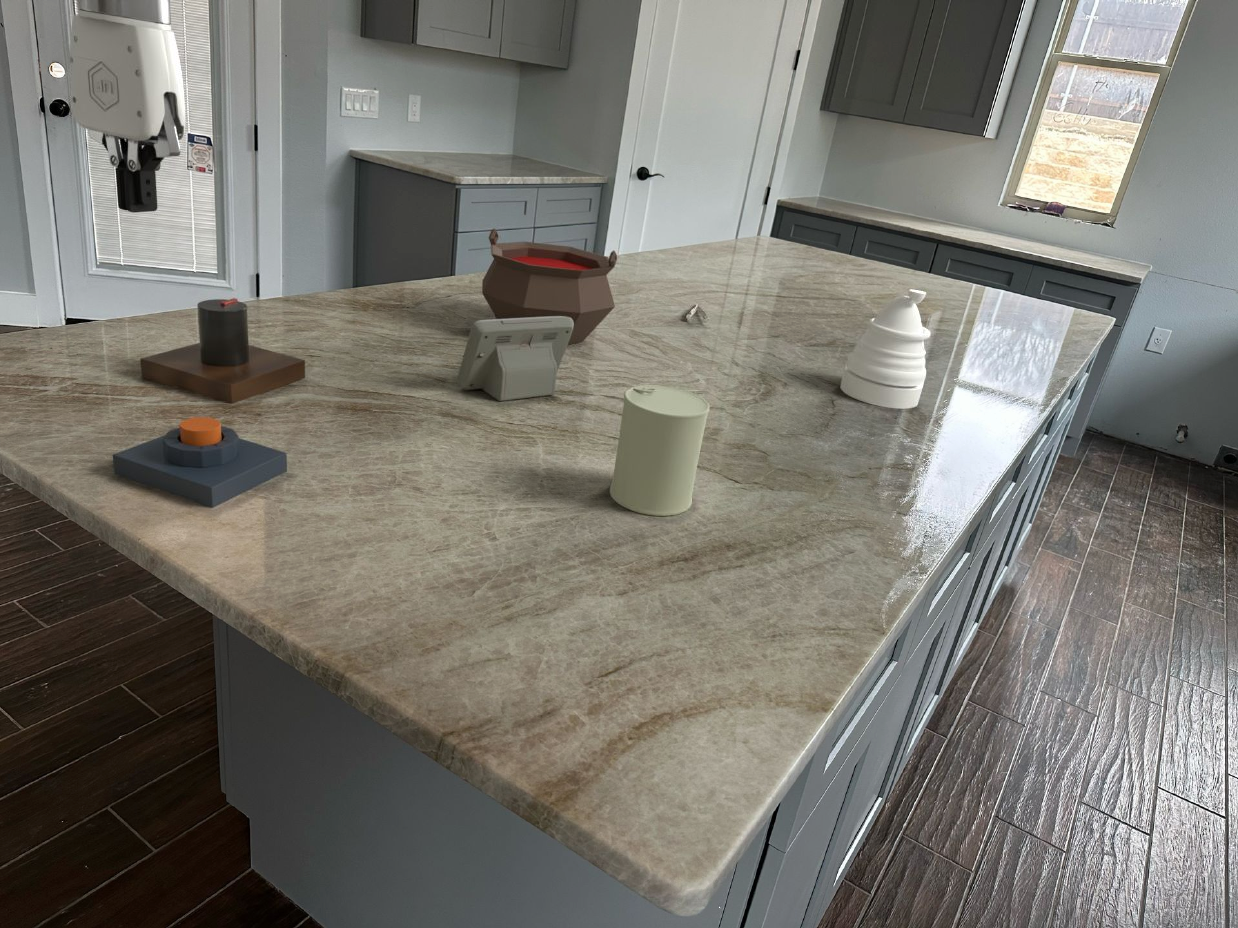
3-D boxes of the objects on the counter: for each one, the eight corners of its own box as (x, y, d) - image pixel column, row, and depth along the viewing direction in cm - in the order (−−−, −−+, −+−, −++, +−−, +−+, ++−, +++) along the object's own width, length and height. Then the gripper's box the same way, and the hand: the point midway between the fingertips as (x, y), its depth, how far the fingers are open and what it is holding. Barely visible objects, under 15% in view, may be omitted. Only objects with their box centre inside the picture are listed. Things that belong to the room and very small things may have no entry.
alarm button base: (114, 475, 82) (110, 437, 81) (195, 442, 91) (193, 408, 89) (212, 509, 79) (210, 470, 77) (287, 472, 88) (286, 436, 86)
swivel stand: (141, 377, 105) (139, 358, 104) (221, 354, 117) (220, 337, 116) (231, 404, 102) (230, 385, 101) (305, 378, 113) (304, 360, 112)
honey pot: (934, 405, 141) (966, 299, 133) (881, 411, 134) (912, 299, 127) (876, 379, 150) (903, 278, 143) (824, 383, 143) (850, 278, 136)
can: (639, 471, 100) (654, 375, 95) (706, 499, 96) (726, 399, 91) (592, 494, 93) (607, 390, 88) (663, 525, 88) (682, 418, 84)
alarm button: (172, 441, 82) (170, 424, 82) (201, 430, 86) (200, 414, 85) (201, 450, 81) (200, 434, 81) (229, 439, 85) (228, 423, 84)
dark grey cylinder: (231, 369, 105) (228, 311, 102) (191, 360, 106) (186, 303, 103) (258, 357, 110) (256, 302, 107) (219, 349, 111) (215, 294, 108)
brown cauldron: (626, 331, 157) (638, 242, 150) (590, 365, 135) (603, 262, 129) (504, 307, 161) (511, 219, 154) (450, 336, 139) (456, 235, 133)
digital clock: (555, 377, 127) (562, 308, 123) (578, 399, 120) (587, 326, 115) (448, 380, 120) (452, 306, 116) (466, 403, 113) (471, 325, 108)
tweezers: (708, 326, 169) (710, 316, 169) (685, 322, 169) (686, 312, 169) (707, 311, 186) (708, 302, 185) (685, 308, 186) (687, 299, 185)
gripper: (27, -10, 77) (49, 197, 84) (150, 11, 73) (163, 228, 80) (101, 3, 84) (116, 194, 91) (219, 23, 79) (225, 222, 87)
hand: (138, 209), depth 85 cm, fingers closed
